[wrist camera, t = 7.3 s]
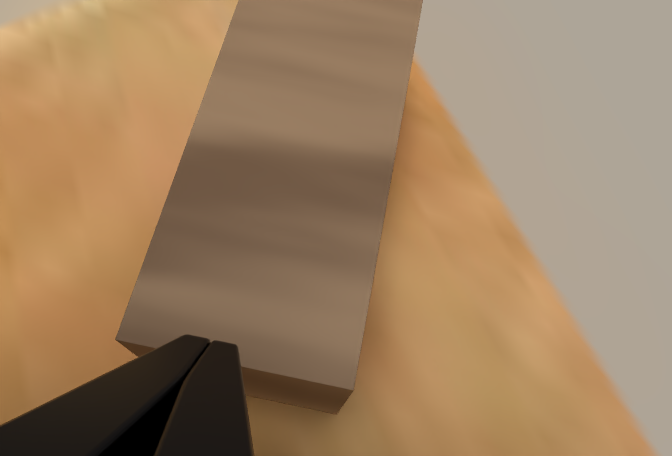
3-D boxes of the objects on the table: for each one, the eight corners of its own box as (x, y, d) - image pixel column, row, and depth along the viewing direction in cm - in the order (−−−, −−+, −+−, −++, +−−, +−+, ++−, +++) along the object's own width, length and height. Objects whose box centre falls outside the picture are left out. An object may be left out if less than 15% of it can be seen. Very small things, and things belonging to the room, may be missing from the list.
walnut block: (353, 390, 11) (427, -26, 16) (115, 339, 11) (260, -59, 16) (336, 414, 16) (398, 83, 21) (166, 377, 16) (267, 57, 21)
